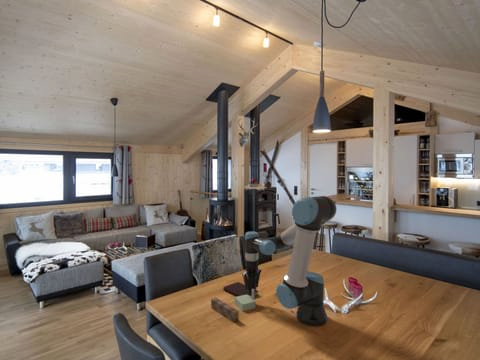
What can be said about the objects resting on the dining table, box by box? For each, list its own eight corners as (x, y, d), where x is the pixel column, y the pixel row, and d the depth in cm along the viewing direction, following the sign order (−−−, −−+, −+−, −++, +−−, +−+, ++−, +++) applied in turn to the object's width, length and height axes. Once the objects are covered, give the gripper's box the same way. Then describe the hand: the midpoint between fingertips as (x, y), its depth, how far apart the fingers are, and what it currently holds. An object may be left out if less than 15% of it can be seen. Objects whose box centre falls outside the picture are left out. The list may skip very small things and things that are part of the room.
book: (242, 301, 169) (242, 296, 169) (223, 291, 184) (223, 285, 184) (258, 296, 177) (258, 290, 177) (238, 286, 192) (238, 281, 192)
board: (238, 320, 147) (238, 310, 147) (233, 322, 146) (233, 312, 145) (215, 306, 163) (215, 297, 163) (211, 307, 161) (211, 298, 161)
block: (255, 308, 161) (255, 301, 161) (242, 311, 157) (242, 304, 157) (247, 301, 170) (247, 294, 169) (234, 304, 166) (234, 297, 166)
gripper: (255, 255, 173) (255, 295, 174) (238, 260, 165) (238, 301, 166) (264, 258, 167) (264, 299, 168) (247, 263, 159) (247, 306, 160)
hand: (251, 300), depth 167 cm, fingers closed
